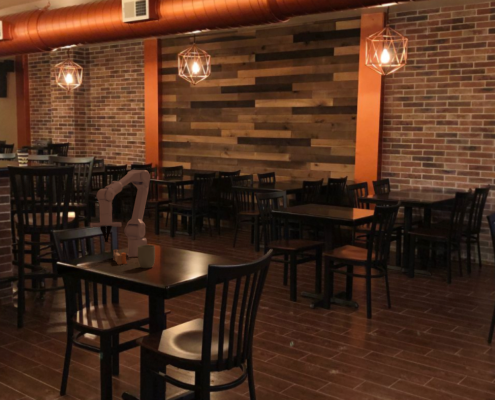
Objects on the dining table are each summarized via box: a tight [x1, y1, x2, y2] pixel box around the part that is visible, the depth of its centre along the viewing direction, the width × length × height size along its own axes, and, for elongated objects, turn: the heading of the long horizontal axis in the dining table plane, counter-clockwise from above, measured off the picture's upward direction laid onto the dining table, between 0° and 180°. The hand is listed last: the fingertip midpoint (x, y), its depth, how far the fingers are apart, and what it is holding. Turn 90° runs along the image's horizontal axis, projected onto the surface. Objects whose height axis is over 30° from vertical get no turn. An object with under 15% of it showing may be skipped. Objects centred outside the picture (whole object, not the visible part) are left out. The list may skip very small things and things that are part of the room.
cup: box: [137, 244, 156, 269], centre depth 271 cm, size 8×8×10 cm
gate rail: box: [114, 251, 123, 265], centre depth 284 cm, size 11×2×4 cm, turn 20°
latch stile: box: [120, 252, 128, 265], centre depth 282 cm, size 3×3×5 cm
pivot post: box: [112, 249, 120, 261], centre depth 291 cm, size 3×3×5 cm
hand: (106, 241), depth 285 cm, fingers closed
